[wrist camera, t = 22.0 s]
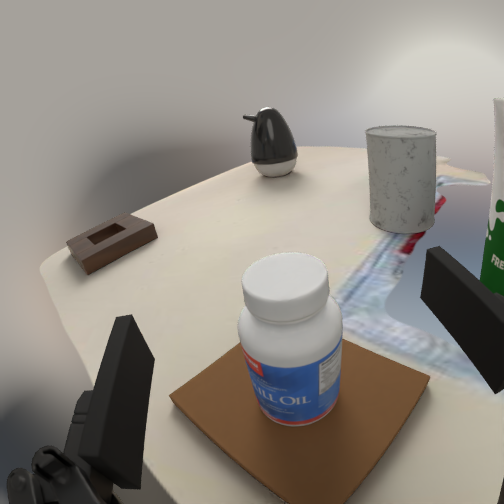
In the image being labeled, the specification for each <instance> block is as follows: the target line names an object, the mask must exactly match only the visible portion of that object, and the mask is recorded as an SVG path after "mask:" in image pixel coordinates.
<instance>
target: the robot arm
mask: <svg viewBox="0 0 504 504" xmlns="http://www.w3.org/2000/svg"><path fill="white" fill-rule="evenodd" d="M420 298H421V299H422V300H423V302H424V303H425V304H426V305H427V306H428V307H429V309H430V310H431V311H432V312H433V314H434V315H435V316H436V317H437V318H438V319H439V321H440V322H441V323H442V324H443V325H444V327H445V328H446V329H447V331H448V332H449V333H450V334H451V336H452V337H453V338H454V339H455V341H456V342H457V343H458V345H460V347H461V348H462V350H463V351H464V352H465V354H466V355H467V356H468V358H469V359H470V360H471V362H472V363H473V364H474V366H475V367H476V368H477V370H478V371H479V372H480V374H481V375H482V376H483V378H484V379H485V381H486V382H487V383H488V385H489V386H490V388H491V389H492V391H493V392H494V393H495V394H497V393H498V392H500V391H501V390H503V389H504V296H502V295H500V294H498V293H497V292H496V293H494V294H493V293H492V292H491V291H490V290H489V289H488V288H487V287H486V286H485V285H484V284H483V283H481V282H480V281H479V280H478V279H477V278H476V277H475V276H474V275H473V274H472V273H470V272H469V271H468V270H467V269H466V268H465V267H464V266H462V265H461V264H460V263H459V262H458V261H457V260H456V259H454V258H453V257H452V256H451V255H449V254H448V253H447V252H446V251H445V250H444V249H442V248H441V247H440V246H438V247H434V248H430V249H427V253H426V261H425V269H424V277H423V284H422V290H421V297H420ZM154 361H155V358H154V357H153V355H152V353H151V351H150V349H149V347H148V345H147V343H146V341H145V340H144V338H143V336H142V334H141V332H140V330H139V328H138V326H137V324H136V322H135V320H134V318H133V316H132V314H131V315H126V316H120V317H116V319H115V322H114V325H113V328H112V331H111V334H110V337H109V340H108V343H107V346H106V349H105V352H104V356H103V359H102V362H101V365H100V369H99V372H98V375H97V379H96V382H95V386H94V389H93V390H91V391H84V392H83V394H82V395H81V397H80V398H79V399H78V401H77V404H76V407H75V410H74V415H73V418H72V421H71V422H72V424H71V425H70V429H69V433H68V436H67V440H66V444H65V449H64V453H62V452H61V451H60V450H59V449H58V448H56V447H54V446H44V447H42V448H40V449H39V450H38V451H37V452H36V453H35V455H34V457H33V459H32V464H31V465H32V471H33V472H34V473H35V474H31V473H30V472H28V471H27V470H26V469H23V468H16V469H14V470H13V471H12V472H11V473H10V474H9V476H8V479H7V492H8V499H9V504H124V503H123V502H122V501H121V499H120V498H119V497H118V495H117V494H116V493H115V492H114V491H113V483H114V484H116V485H117V486H119V487H120V488H122V489H141V475H142V463H143V451H144V440H145V431H146V422H147V413H148V405H149V397H150V389H151V382H152V375H153V368H154ZM497 504H504V479H503V483H502V487H501V492H500V496H499V500H498V503H497Z"/></svg>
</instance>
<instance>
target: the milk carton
mask: <svg viewBox="0 0 504 504" xmlns="http://www.w3.org/2000/svg"><path fill="white" fill-rule="evenodd" d="M494 115H495V147H494V169H493V171H494V172H493V184H492V196H491V206H490V213H489V221H488V228H487V234H486V240H485V247H484V254H483V262H482V269H481V275H480V282H481V283H483V284H484V285H485V286H486V287H487V288H488V289H489V290H490V291H491V292H492V293H493V294H494V293H496V292H497V293H498V294H500V295H502V296H504V98H495V99H494Z"/></svg>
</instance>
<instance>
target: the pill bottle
mask: <svg viewBox="0 0 504 504" xmlns="http://www.w3.org/2000/svg"><path fill="white" fill-rule="evenodd" d="M242 289H243V294H244V302H245V306H244V308H243V310H242V311H241V314H240V316H239V320H238V334H239V338H240V343H241V347H242V350H243V354H244V357H245V361H246V364H247V368H248V371H249V374H250V378H251V381H252V385H253V389H254V392H255V396H256V399H257V402H258V404H259V407H260V408H261V410H262V411H263V413H264V414H265V415H266V416H267V417H268V418H270V419H271V420H273V421H274V422H276V423H279V424H282V425H286V426H304V425H308V424H311V423H314V422H316V421H318V420H320V419H321V418H323V417H324V416H326V415H327V414H328V413H329V412H330V411H331V409H332V408H333V407H334V405H335V403H336V401H337V398H338V395H339V388H340V373H341V355H342V326H343V324H342V313H341V310H340V307H339V305H338V304H337V302H336V301H335V300H334V298H333V297H331V296H330V295H329V280H328V271H327V268H326V266H325V264H324V263H323V262H322V261H321V260H320V259H318V258H317V257H314V256H312V255H309V254H305V253H300V252H284V253H278V254H273V255H270V256H266V257H264V258H262V259H259V260H258V261H256V262H254V263H253V264H252V265H250V266H249V267H248V268H247V269H246V271H245V272H244V274H243V276H242Z"/></svg>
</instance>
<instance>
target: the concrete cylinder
mask: <svg viewBox="0 0 504 504" xmlns="http://www.w3.org/2000/svg"><path fill="white" fill-rule="evenodd" d="M365 133H366V139H367V152H368V167H369V185H370V220H371V222H372V223H373V224H374V225H375V226H376V227H378V228H380V229H383V230H385V231H389V232H393V233H401V234H412V233H419V232H423V231H426V230H428V229H430V228H431V227H432V226H433V224H434V221H435V219H434V211H435V192H436V132H435V131H434V130H431V129H427V128H422V127H414V126H379V127H373V128H368V129H366V130H365Z"/></svg>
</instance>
